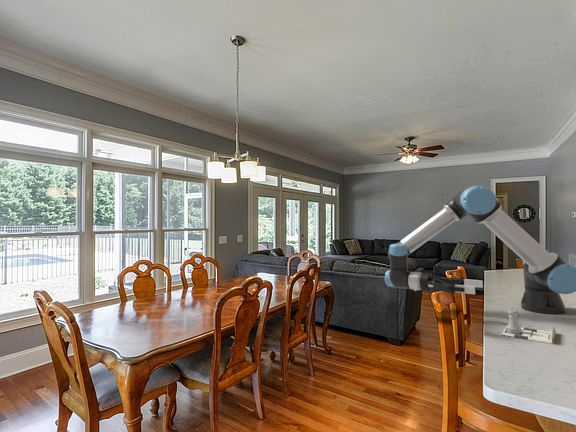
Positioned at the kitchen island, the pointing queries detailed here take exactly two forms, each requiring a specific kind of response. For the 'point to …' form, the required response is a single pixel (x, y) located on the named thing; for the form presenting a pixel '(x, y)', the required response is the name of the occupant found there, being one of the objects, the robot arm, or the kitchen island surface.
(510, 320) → the rook chess piece
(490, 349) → the kitchen island surface
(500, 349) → the kitchen island surface
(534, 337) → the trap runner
